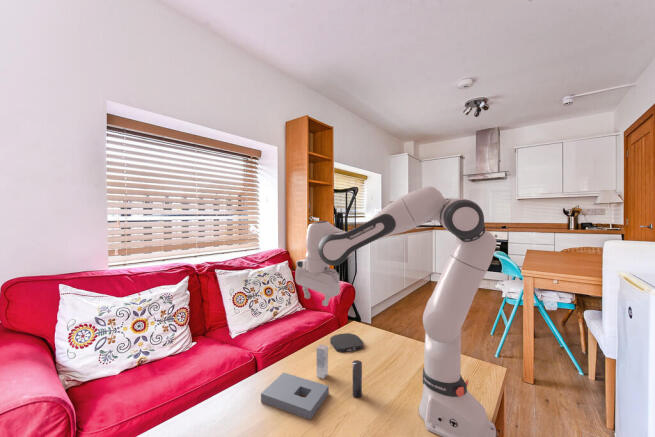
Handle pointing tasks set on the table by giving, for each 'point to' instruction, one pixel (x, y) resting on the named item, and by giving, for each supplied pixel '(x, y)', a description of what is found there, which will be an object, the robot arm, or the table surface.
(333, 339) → the media streaming box
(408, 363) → the table surface
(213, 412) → the table surface
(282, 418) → the table surface
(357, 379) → the round bit
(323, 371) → the square bit
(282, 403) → the socket board
